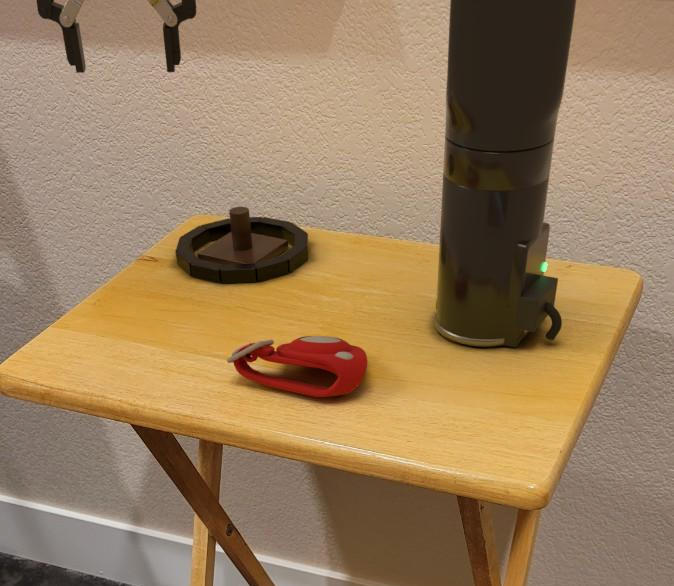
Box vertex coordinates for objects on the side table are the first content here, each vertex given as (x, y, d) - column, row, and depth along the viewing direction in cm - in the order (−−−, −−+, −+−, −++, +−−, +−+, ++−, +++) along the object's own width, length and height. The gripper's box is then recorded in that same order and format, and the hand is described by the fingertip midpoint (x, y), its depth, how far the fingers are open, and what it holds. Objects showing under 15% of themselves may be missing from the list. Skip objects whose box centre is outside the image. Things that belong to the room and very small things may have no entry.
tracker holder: (333, 327, 85) (394, 344, 77) (332, 374, 87) (390, 394, 79) (218, 333, 79) (272, 351, 71) (219, 383, 81) (271, 406, 73)
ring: (331, 242, 102) (331, 229, 101) (262, 293, 93) (261, 279, 92) (227, 221, 108) (225, 209, 107) (152, 268, 99) (150, 254, 98)
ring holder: (288, 248, 102) (285, 204, 98) (253, 273, 97) (248, 227, 93) (235, 237, 104) (230, 193, 101) (197, 261, 100) (191, 216, 96)
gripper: (3, -147, 70) (46, 82, 81) (183, -145, 72) (201, 80, 83) (16, -155, 76) (55, 61, 87) (184, -153, 77) (201, 60, 88)
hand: (126, 70), depth 85 cm, fingers open, 8 cm apart
